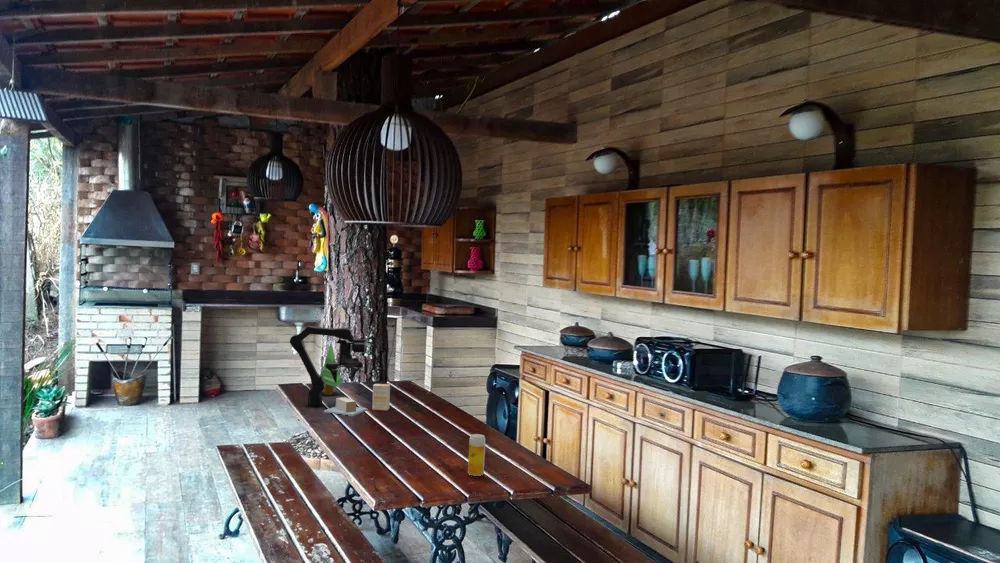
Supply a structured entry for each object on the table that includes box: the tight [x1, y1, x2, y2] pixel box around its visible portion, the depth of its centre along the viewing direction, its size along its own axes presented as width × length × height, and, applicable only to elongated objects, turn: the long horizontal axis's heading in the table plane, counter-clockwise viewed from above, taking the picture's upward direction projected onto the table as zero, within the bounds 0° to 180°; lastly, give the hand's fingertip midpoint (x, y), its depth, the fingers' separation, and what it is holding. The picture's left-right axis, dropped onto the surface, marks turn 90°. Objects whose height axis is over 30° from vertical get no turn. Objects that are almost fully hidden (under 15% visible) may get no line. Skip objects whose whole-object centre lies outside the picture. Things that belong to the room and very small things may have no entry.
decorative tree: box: [319, 342, 344, 396], centre depth 406 cm, size 14×16×30 cm
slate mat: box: [323, 405, 369, 417], centre depth 367 cm, size 16×16×1 cm
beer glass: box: [467, 433, 487, 477], centre depth 274 cm, size 6×6×15 cm
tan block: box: [335, 396, 357, 412], centre depth 367 cm, size 5×5×12 cm
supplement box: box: [371, 383, 391, 412], centre depth 375 cm, size 8×5×13 cm, turn 84°
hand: (343, 381), depth 377 cm, fingers open, 9 cm apart
